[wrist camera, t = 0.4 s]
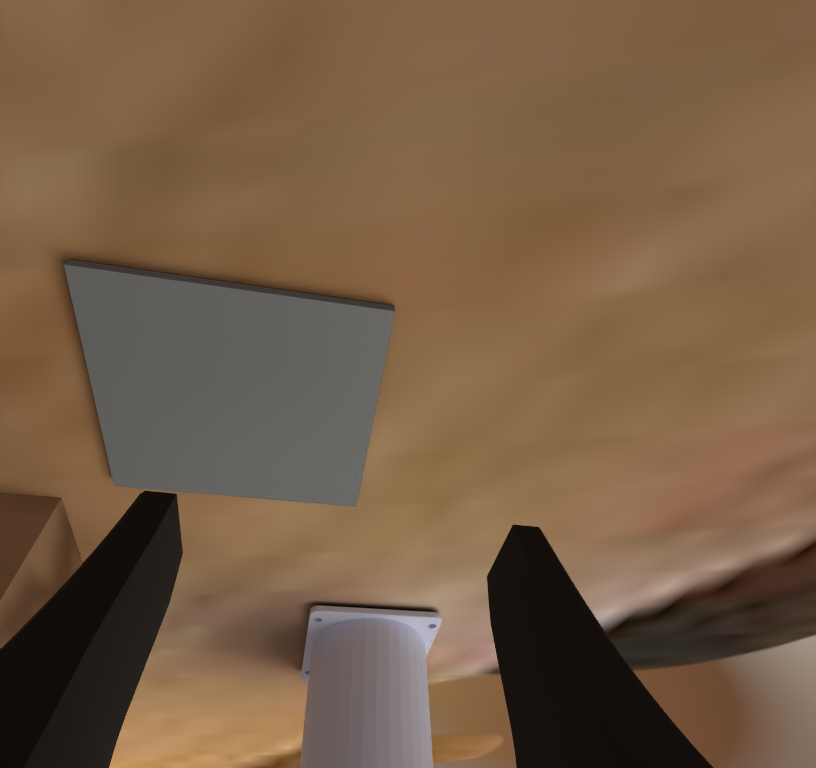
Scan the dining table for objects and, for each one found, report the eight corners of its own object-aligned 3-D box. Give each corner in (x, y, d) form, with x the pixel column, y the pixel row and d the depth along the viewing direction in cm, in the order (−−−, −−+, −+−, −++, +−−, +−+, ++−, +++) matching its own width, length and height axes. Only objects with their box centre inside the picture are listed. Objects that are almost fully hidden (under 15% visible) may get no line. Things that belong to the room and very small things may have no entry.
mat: (356, 500, 26) (356, 506, 26) (117, 479, 24) (114, 486, 24) (394, 305, 19) (394, 311, 19) (69, 259, 18) (63, 264, 17)
